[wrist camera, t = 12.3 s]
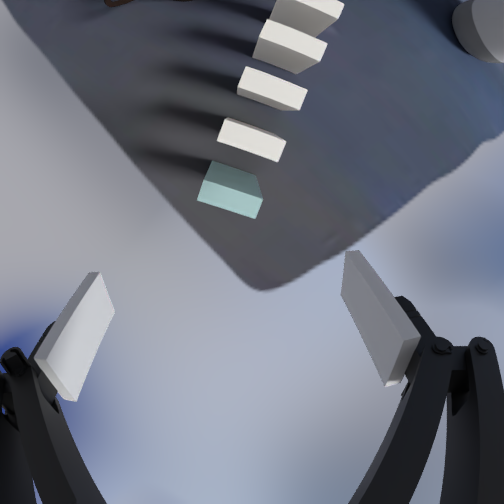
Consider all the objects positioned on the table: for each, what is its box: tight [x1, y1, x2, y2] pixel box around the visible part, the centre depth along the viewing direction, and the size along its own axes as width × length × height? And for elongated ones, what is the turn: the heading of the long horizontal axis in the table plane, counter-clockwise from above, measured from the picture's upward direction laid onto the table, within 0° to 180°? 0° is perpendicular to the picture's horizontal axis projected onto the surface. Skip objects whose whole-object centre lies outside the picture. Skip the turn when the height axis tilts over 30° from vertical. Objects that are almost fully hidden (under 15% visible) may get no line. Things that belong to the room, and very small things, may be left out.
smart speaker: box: [452, 0, 504, 63], centre depth 15 cm, size 10×9×14 cm
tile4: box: [269, 0, 344, 38], centre depth 19 cm, size 5×2×9 cm, turn 69°
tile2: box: [237, 66, 308, 110], centre depth 23 cm, size 5×2×9 cm, turn 69°
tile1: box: [217, 117, 286, 162], centre depth 25 cm, size 5×2×9 cm, turn 70°
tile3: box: [252, 19, 327, 74], centre depth 21 cm, size 5×2×9 cm, turn 69°
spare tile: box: [197, 161, 263, 219], centre depth 27 cm, size 5×2×9 cm, turn 70°
